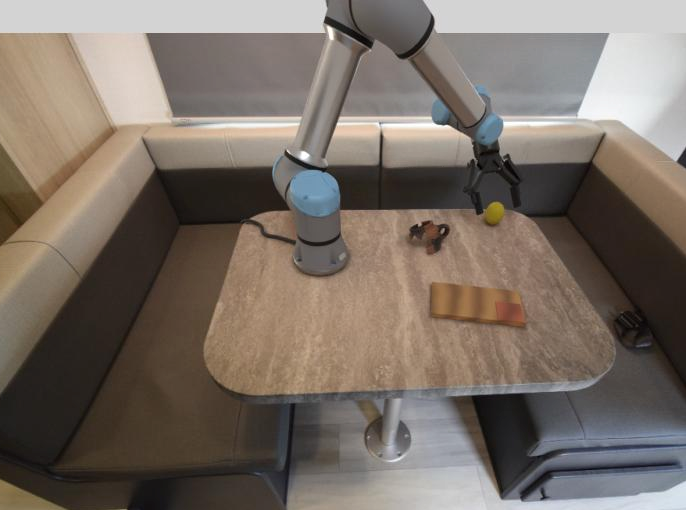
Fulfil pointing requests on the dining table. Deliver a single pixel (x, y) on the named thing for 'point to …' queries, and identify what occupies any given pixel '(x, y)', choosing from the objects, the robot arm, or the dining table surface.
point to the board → (477, 304)
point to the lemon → (494, 213)
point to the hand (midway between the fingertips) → (499, 210)
